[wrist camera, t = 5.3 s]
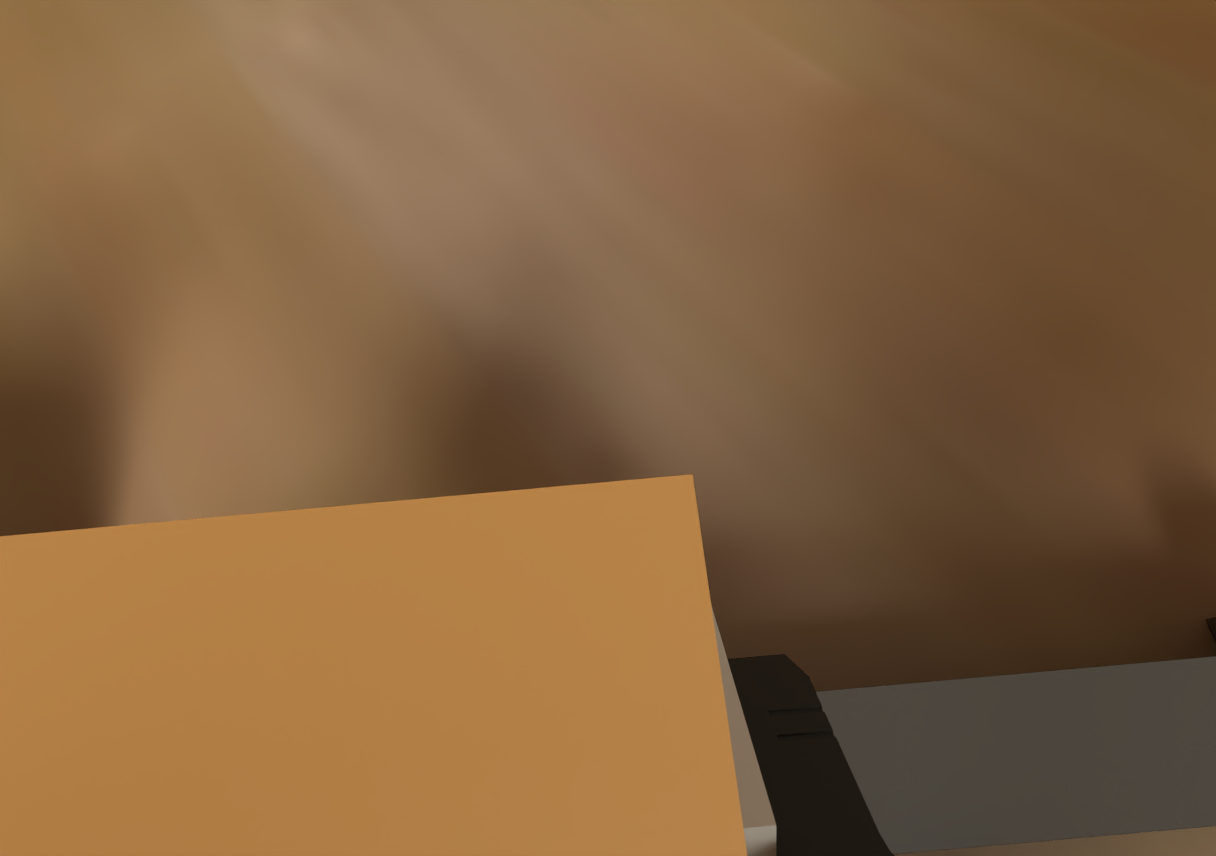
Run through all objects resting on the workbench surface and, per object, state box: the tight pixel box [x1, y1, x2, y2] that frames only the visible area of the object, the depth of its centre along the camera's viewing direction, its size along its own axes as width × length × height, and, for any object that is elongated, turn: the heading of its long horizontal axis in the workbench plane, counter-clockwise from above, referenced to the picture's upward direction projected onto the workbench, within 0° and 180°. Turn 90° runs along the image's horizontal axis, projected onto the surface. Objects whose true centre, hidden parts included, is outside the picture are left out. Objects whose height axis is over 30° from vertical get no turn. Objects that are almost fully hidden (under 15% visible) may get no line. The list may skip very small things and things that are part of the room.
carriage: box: [0, 474, 747, 856], centre depth 10 cm, size 5×6×14 cm
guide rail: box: [816, 617, 1216, 854], centre depth 14 cm, size 31×5×4 cm, turn 95°
